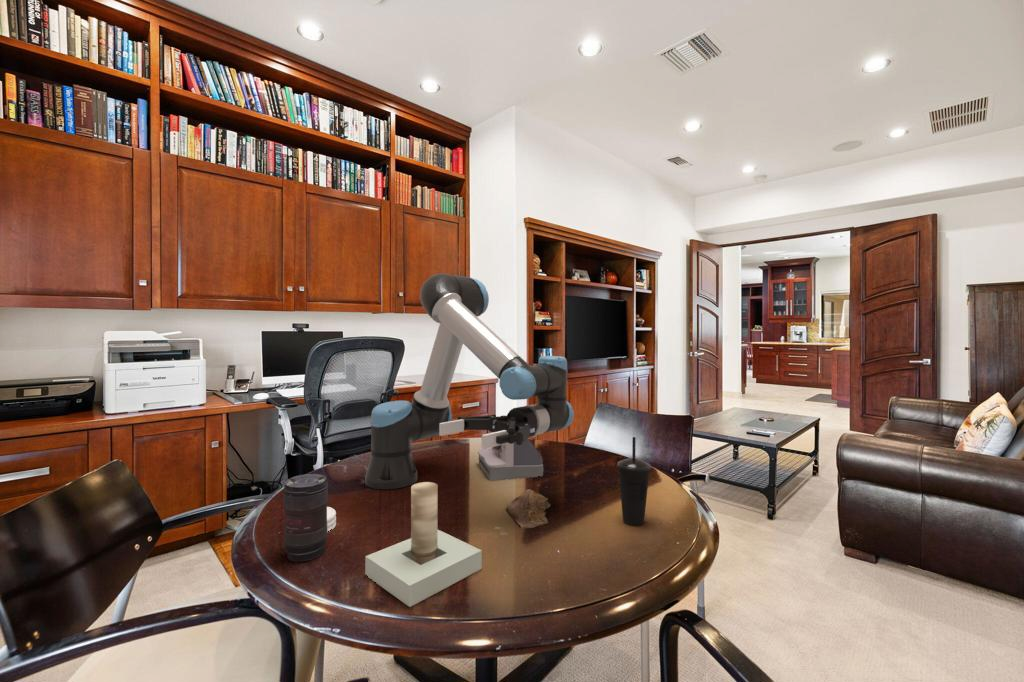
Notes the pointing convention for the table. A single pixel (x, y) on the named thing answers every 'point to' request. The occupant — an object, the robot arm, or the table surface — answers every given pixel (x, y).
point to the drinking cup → (633, 488)
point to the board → (422, 568)
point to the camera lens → (305, 516)
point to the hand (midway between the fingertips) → (460, 435)
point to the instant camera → (511, 461)
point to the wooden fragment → (529, 509)
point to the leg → (424, 521)
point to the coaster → (331, 518)
